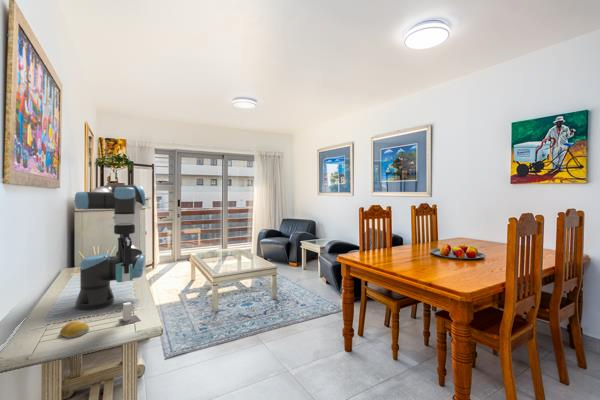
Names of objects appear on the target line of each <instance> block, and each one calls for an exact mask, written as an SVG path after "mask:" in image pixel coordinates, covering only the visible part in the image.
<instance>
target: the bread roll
mask: <svg viewBox="0 0 600 400" xmlns="http://www.w3.org/2000/svg"><path fill="white" fill-rule="evenodd" d="M89 329H90V326H89V324H88V323H85V322H81V321H79V320H75V321H70V322H69V323H66V324H65V325H64V326H62V328H61V329H60V332H59V333H60V335H61V336H62V337H65V338H69V339H70V338H76V337H80V336H83V335H84V334H85V335H86V334H87V332H89Z"/></svg>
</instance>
